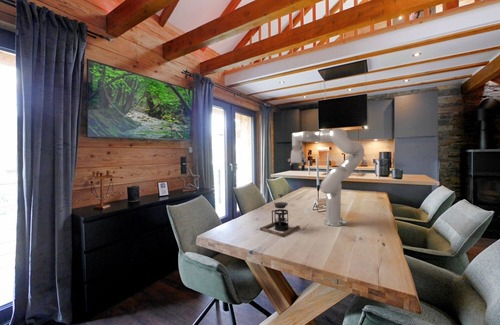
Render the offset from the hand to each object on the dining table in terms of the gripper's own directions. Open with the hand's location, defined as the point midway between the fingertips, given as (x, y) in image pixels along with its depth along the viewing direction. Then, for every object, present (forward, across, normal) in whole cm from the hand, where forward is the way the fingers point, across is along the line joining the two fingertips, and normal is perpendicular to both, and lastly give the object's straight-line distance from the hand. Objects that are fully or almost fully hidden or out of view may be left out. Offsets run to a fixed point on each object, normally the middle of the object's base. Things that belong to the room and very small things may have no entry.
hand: (297, 170), depth 168 cm
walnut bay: (+36, -6, +32) cm, 49 cm away
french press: (+36, -6, +32) cm, 49 cm away
